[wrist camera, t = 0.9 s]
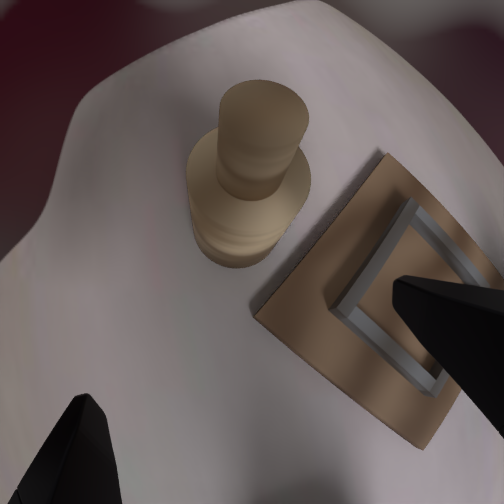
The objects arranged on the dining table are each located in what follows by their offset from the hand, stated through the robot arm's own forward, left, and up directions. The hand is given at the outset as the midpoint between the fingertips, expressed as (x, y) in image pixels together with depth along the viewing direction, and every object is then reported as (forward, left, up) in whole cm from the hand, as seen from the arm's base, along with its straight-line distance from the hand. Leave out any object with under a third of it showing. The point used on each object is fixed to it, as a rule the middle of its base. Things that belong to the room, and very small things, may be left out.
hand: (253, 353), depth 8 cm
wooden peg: (+5, -6, -13) cm, 15 cm away
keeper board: (-9, -11, -13) cm, 20 cm away
